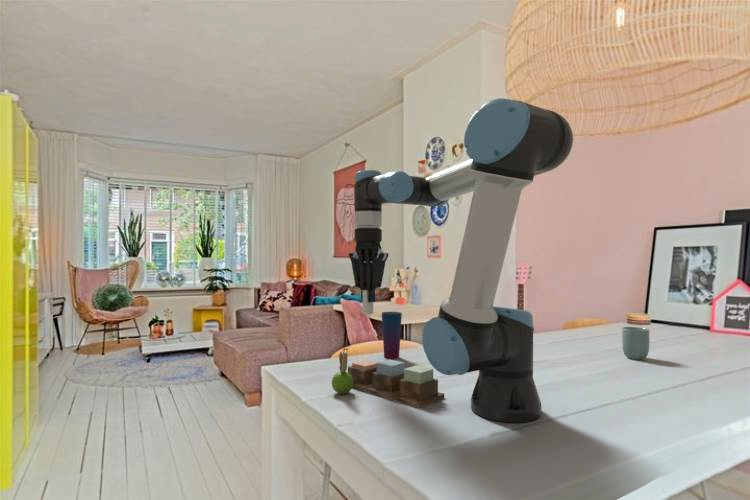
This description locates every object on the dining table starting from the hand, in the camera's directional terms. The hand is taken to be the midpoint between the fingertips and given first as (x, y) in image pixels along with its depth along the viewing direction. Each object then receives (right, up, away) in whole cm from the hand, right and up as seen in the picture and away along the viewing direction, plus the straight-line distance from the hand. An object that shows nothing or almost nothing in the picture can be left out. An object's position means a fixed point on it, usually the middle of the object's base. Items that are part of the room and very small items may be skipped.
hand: (367, 313), depth 123 cm
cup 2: (+90, -19, +28) cm, 96 cm away
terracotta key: (-1, -16, -2) cm, 16 cm away
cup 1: (+8, -19, +28) cm, 35 cm away
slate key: (+6, -14, -9) cm, 18 cm away
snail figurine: (-6, -19, -11) cm, 23 cm away
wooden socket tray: (+6, -18, -9) cm, 21 cm away
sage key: (+12, -14, -15) cm, 24 cm away
